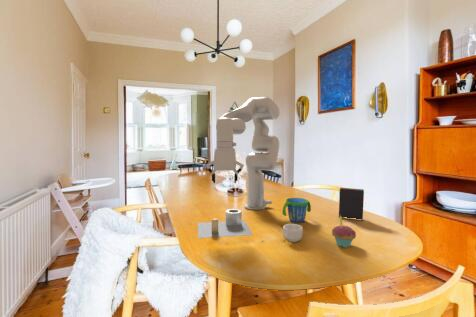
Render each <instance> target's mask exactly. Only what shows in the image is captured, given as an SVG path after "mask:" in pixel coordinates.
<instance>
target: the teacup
mask: <svg viewBox="0 0 476 317" xmlns="http://www.w3.org/2000/svg"><path fill="white" fill-rule="evenodd" d="M303 228H304V227H303V226H302V225H300V224H297V223H287V224H284V225H283V226H282V233H283V237H284V238H285V240H286V241H288V242H289V243H297V241H298V242H300V240H302V238H303V233H304V232H303V231H304V230H303Z"/></svg>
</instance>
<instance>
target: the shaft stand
mask: <svg viewBox="0 0 476 317" xmlns="http://www.w3.org/2000/svg"><path fill="white" fill-rule="evenodd" d="M253 235H254V234H253V233H252V231H251V229H250V227H249V225H248V223H247V222H246V220H242V224H241V225H240V226H237V227H230V226H227V225H226V221H219V218H215V217H214V218H211V222H210V221H209V222H208V221H207V222H197V239H205V238H209V239H210V238H223V237H239V236H241V237H242V236H244V237H245V236H253Z"/></svg>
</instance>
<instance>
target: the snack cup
mask: <svg viewBox="0 0 476 317" xmlns="http://www.w3.org/2000/svg"><path fill="white" fill-rule="evenodd" d="M285 200H286V202H285V203H284V204H283V207H282V215H283V216H284V217H286V216H287V213H288V219H289V221H290V222H293V223H302V222H305V219H306V215H307V212H308V213H310V212H311V211H312V207H311V206H312V205H311V202H310V201H309V200H308V199H306V198H302V197H290V198H287V199H285ZM286 209H287V212H286Z"/></svg>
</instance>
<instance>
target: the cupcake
mask: <svg viewBox="0 0 476 317" xmlns="http://www.w3.org/2000/svg"><path fill="white" fill-rule="evenodd" d="M339 222H340V224H339V225H337V226H334V227H333V228H332V229H331V236H333V237H334V239H335V242H336V245H337V244H338V245H339V247H341V246H343V247H342V248H349V247H351V244H352V242H353V240H354V239H356V237H357V234H356V231H355V230H354V229H352V227H350V226H348V225H343V218H342V217H341V215H340V218H339ZM338 245H337V246H338ZM348 246H349V247H348Z"/></svg>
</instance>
